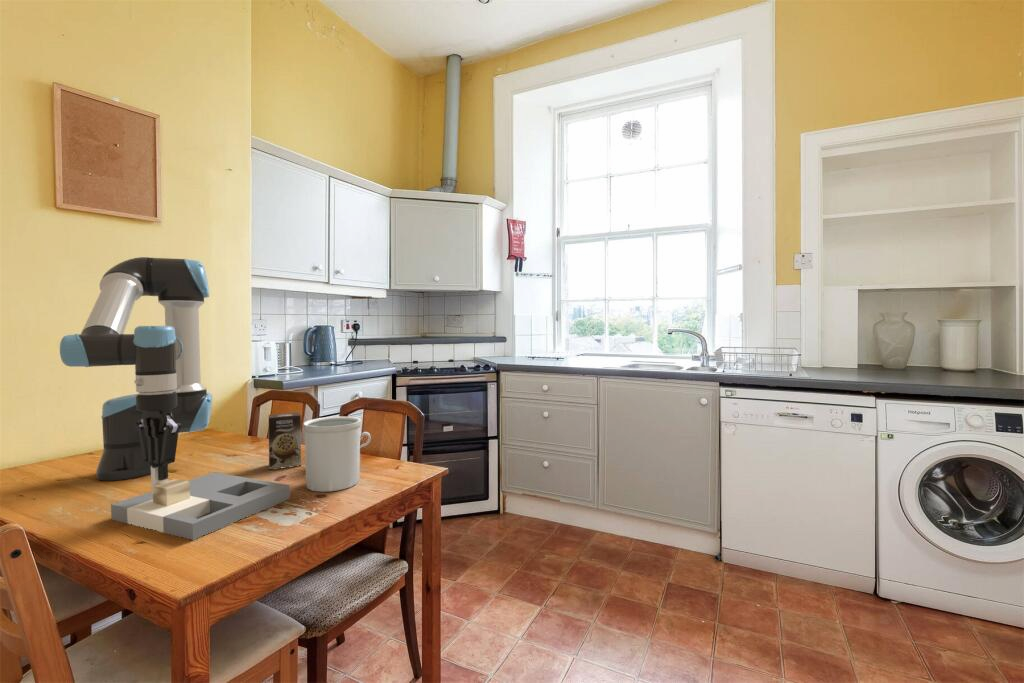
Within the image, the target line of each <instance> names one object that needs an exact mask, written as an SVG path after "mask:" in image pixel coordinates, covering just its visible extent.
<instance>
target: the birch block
mask: <svg viewBox="0 0 1024 683" xmlns="http://www.w3.org/2000/svg"><path fill="white" fill-rule="evenodd" d="M187 499H190V482H189V481H188V480H183V479H177V478H174V479H171V480H168V481H167V482H164V483H161V484H157V485H154V486H153V503H155V504H159V505H164V506H170V505H173V504H175V503H178V502H181V501H184V500H187Z"/></svg>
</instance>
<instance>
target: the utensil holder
mask: <svg viewBox="0 0 1024 683" xmlns="http://www.w3.org/2000/svg"><path fill="white" fill-rule="evenodd" d="M302 425H303V430H304V446H305V447H304V453H305V481H306V482H305V483H306V489H308V490H310V491H313V492H323V493H325V492H327V493H328V492H335V491H341V490H342V491H343V490H345V489H349V488H352V487H353V486H355V485H357V484H358V483H359V481H360V467H361V466H360V465H361V448H360V446H361V439H360V437H361V434H360V431H361V425H362V419H361V418H359V417H356V416H355V417H354V416H326V417H319V418H318V417H317V418H314V419H309V420H306V421H304V422H303V424H302Z"/></svg>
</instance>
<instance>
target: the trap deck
mask: <svg viewBox="0 0 1024 683" xmlns="http://www.w3.org/2000/svg"><path fill="white" fill-rule="evenodd" d="M187 481H189V482H190V499H187V500H184V501H181V502H178V503H175V504H173V505H170V506H164V505H159V504H155V503H153V495H152V491H149V492H145V493H143V494H139V495H135V496H133V497H129V498H126V499H123V500H120V501H117V502H114V503H111V504H110V515H111V520H112V521H115V522H120V523H124V524H128V525H131V524H132V525H131V526H136V527H139V526H140V527H139V528H143V527H144V528H143V529H147V528H148V529H149V530H150V529H153V530H152V531H154V530H157V531H156V532H158V531H159V532H158V533H162V532H164V533H163V534H166V533H167V535H170V534H171V536H174V535H175V537H177V536H179V538H181V537H184V538H183V539H185V538H187V539H186V540H189V539H191V540H190V541H193V540H194V541H196V540H198V539H200V538H199V537H201V536H203V535H205V536H207V535H206V534H208V533H210V534H212V533H213V532H212V531H215V530H217V531H219V530H221V529H223V528H222V527H224V528H226V527H228V526H231V525H232V524H231V523H233V524H235V523H237V522H236V521H238V520H240V519H242V520H244V519H243V518H245V517H247V516H249V517H251V516H253V515H252V514H254V515H256V514H258V513H261V512H263V511H265V510H268V509H270V508H272V507H274V505H275V506H277V505H279V504H281V503H284V502H286V501H288V500H290V499H291V486H290V485H289V484H285V483H279V482H275V481H274V482H273V481H269V480H262V479H255V478H250V477H243V476H239V475H232V474H227V473H220V472H215V471H213V472H211V473H208V474H203V475H201V476H197V477H194V478H191V479H189V480H188V479H187ZM289 498H290V499H289ZM287 499H288V500H287ZM285 500H286V501H285ZM283 501H284V502H283ZM278 503H279V504H278ZM276 504H277V505H276ZM267 508H268V509H267ZM262 510H263V511H262ZM260 511H261V512H260ZM257 512H258V513H257ZM255 513H256V514H255ZM250 515H251V516H250ZM247 518H248V517H247ZM245 519H246V518H245ZM240 521H241V520H240ZM234 522H235V523H234ZM238 522H239V521H238ZM230 524H231V525H230ZM227 525H228V526H227ZM225 526H226V527H225ZM220 528H221V529H220ZM148 529H147V530H148ZM218 529H219V530H218ZM211 532H212V533H211ZM215 532H216V531H215ZM208 535H209V534H208ZM203 537H204V536H203ZM197 538H198V539H197ZM201 538H202V537H201ZM195 539H196V540H195Z"/></svg>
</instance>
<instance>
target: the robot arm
mask: <svg viewBox="0 0 1024 683" xmlns="http://www.w3.org/2000/svg"><path fill="white" fill-rule="evenodd" d="M209 289H210V287H209V281H208V277H207V273H206V268H205V266H204V264H203V263H202V261H200V260H195V259H188V258H170V257H169V258H167V257H147V256H142V257H141V256H140V257H134V258H129V259H127V260H123V261H122V262H119V263H118V264H116V265H114V266H111V268H109V269H108V270H107V271H106V272H105V273H104V274H103V275H102V277H101V279H100V281H99V290H100V293H99V295H98V296H97V299H96V301H95V302H94V305H93V307H92V309H91V312H90V313H89V316H88V318H87V320H86V322H85V324H84V327H83V328H82V331H81V332H80V334H79V333H74V334H67V335H64V336H63V337H62V338H61V340H60V343H59V355H60V359H61V362H62V363H63V364H64V365H65V366H67V367H71V368H72V367H74V368H75V367H78V368H79V367H85V368H89V367H108V366H109V367H110V366H135V368H134V370H135V372H134V374H135V380H134V382H133V383H134V385H135V392H136V393H133V394H127V395H123V396H118V397H114V398H110V399H108V400H106V401H105V402H104V403H103V404H102V409H101V410H102V414H101V420H102V439H103V440H102V442H103V449H102V450H103V451H102V454H101V456H100V458H99V459H100V460H99V462H98V465H97V467H96V471H95V473H96V475H95V477H96V479H97V480H98V481H122V480H128V479H135V478H139V477H143V476H144V477H145V476H147V475H150V483H151V485H150V487H151V492H152V495H153V486H154V485H157V484H161V483H164V482H167V481H169V467H168V466H169V465H170V464H172V463H175V462H176V453H177V446H178V440H179V434H180V433H181V434H182V433H192V432H200V431H205V430H206V429H207V427H208V426H209V422H210V419H211V414H212V412H211V411H212V406H213V405H212V404H213V394H212V393H209V392H207V387H206V386H205V385H203V384H202V382H201V355H200V354H201V353H200V352H201V351H200V347H201V345H200V319H199V316H200V315H199V314H200V313H199V312H200V311H199V310H200V309H199V308H200V307H201V306H203V304H205V298H207V299H208V298H209V297H210V290H209ZM146 296H147V297H148V296H150V297H157V300H158V303H159V304H160V305H161V306H162V307H163V308H164V324H165V325H138V326H136V327H135V328H134V330H133V333H124V332H125V330H126V327H127V324H128V322H129V319H130V317H131V314H132V311H133V308H134V305H135V303H136V302H137V301H138V300H140V298H141V297H146Z"/></svg>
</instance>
